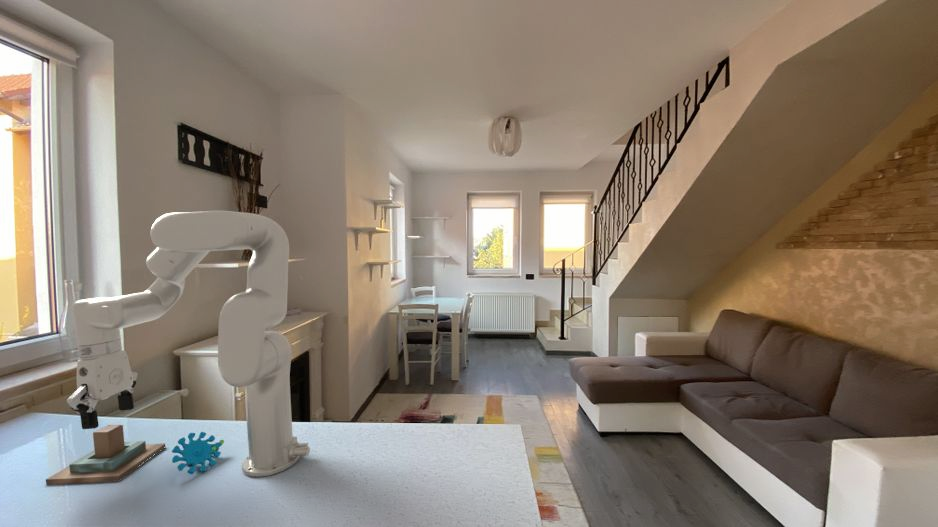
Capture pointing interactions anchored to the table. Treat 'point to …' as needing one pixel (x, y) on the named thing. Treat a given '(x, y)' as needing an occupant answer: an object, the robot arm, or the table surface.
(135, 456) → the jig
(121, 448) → the wooden block
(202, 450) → the gear
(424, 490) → the table surface
